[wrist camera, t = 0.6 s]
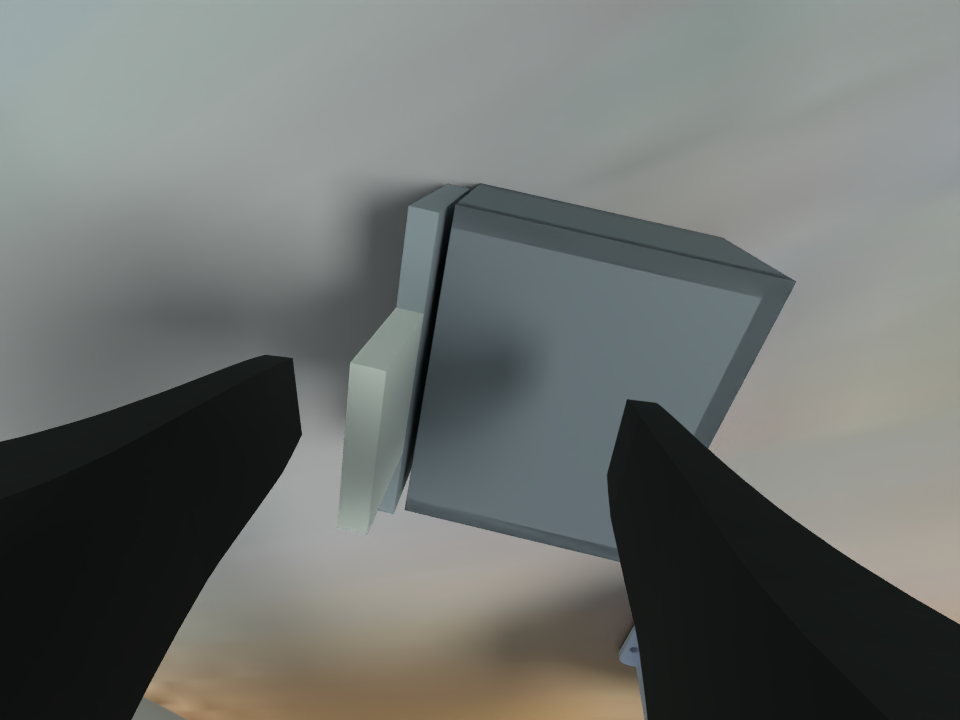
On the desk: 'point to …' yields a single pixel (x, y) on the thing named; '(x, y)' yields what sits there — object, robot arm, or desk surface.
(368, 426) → the carton flap
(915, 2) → the desk surface
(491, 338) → the carton
